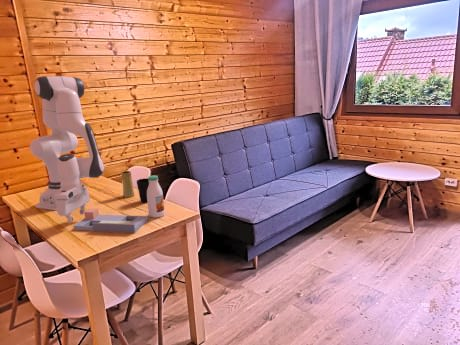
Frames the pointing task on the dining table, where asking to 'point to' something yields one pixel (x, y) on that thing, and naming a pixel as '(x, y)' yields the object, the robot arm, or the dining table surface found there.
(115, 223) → the board
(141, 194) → the cup
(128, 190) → the vase
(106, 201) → the dining table surface
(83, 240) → the dining table surface
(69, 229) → the dining table surface
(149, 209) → the milk bottle
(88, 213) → the block
